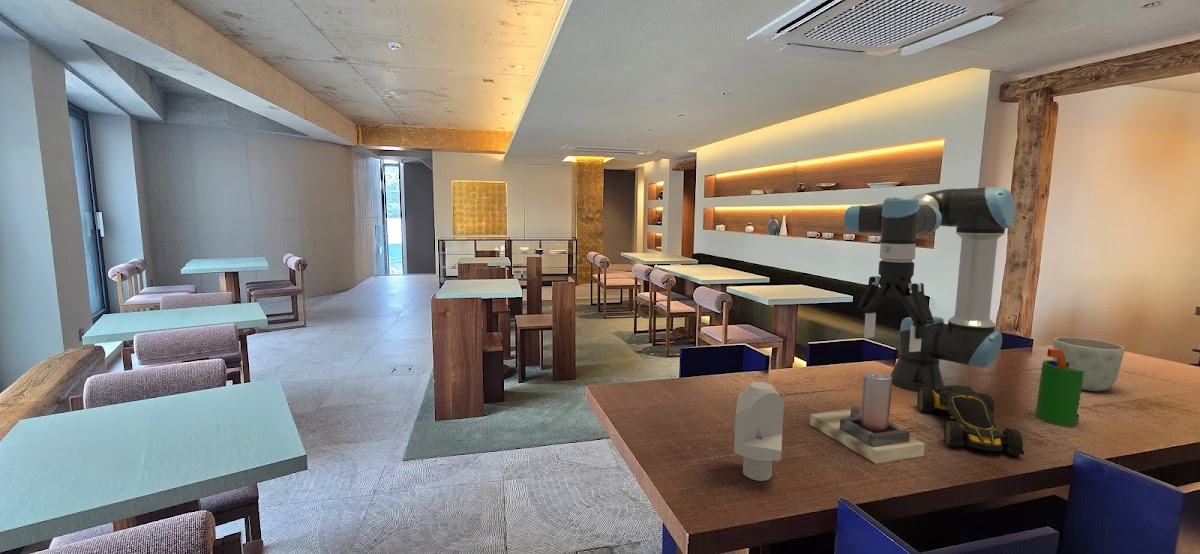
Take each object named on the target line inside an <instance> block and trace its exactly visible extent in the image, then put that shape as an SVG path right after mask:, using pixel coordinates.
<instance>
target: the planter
mask: <svg viewBox="0 0 1200 554" xmlns="http://www.w3.org/2000/svg"><path fill="white" fill-rule="evenodd" d="M1052 342H1053V344H1052V348H1056V349H1059V350H1061V351H1063V353H1064V355H1065V359H1066V362H1069V368H1071V369H1076V370H1081V371H1084V376H1083V382H1082V388H1081V391H1085V392H1086V391H1087V392H1088V391H1089V392H1103V391H1106V390H1108V389H1110V388H1112V387H1113V386H1114V385H1115V383H1116V382H1117V380H1118V377H1119V373H1120V370H1121V365H1122V361H1123V358H1124V353H1125V349H1126V348H1125V347H1124V346H1123V345H1121V344H1118V343H1115V342H1114V343H1113V342H1111V341H1110V342H1109V341H1105V340H1100V339H1092V338H1085V337H1075V336H1057V337H1054V338H1053V341H1052ZM1052 360H1056V361H1057V357H1052Z"/></svg>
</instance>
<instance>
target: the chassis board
mask: <svg viewBox="0 0 1200 554" xmlns="http://www.w3.org/2000/svg"><path fill="white" fill-rule="evenodd" d="M861 407H862V406H860V405H857V404H851V405H850V409H841V410H833V411H826V412H825V411H824V412H817V413H810V415H809V416H810V417H809V418H810V419H809V426H811V427H813V428H815V429H816V430H818V431H820V432H821V433H823V434H825V435H827V436H828V437H830V438H831V439H833V440H835V441H837V442H838V443H840V444H842V445H844V446H845V447H847V448H848V449H851V450H852V451H853V452H855V453H857V454H858V455H860V456H862V457H863V458H865V459H867V460H869V461H871V462H872V463H873V464H876V465H877V464H882V463H889V462H894V461H900V460H902V461H903V460H908V459H912V458H913V459H914V458H920V457H924V456H925V446H926V445H925V443H924V442H922V441H920V440H918V439H916V438H913V437H911V436H910V434H911V431H908V430H907V429H904V428H903V427H901V426H898V425H896V424H894V423H892V422H890V421H889V425H888V432H882V433H875V434H874V433H872V432H870V431H868V430H866V429H864V428H862V427H861V426H860V420H861Z"/></svg>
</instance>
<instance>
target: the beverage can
mask: <svg viewBox="0 0 1200 554" xmlns="http://www.w3.org/2000/svg"><path fill="white" fill-rule="evenodd" d="M891 379H892V377H891V375H889V374H887V373H882V372H877V371H866V372H865V373H864V377H863V385H862V396H861V406H860V407H861V420H860V426H861V427H862V428H864V429H866V430H868V431H870V432H872V433H874V434H875V433H882V432H888V425H889V422H890V415H891V414H890V412H891V403H892V402H891V401H892V400H891V399H892V390H893V383H892V380H891Z"/></svg>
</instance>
